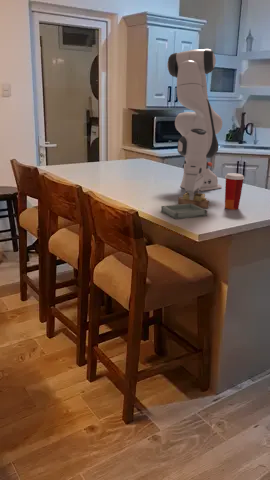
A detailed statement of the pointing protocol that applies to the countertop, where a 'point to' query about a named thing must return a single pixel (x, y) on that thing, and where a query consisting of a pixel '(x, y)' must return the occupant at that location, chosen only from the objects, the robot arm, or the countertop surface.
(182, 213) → the tray
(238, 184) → the coffee cup
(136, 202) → the countertop surface
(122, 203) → the countertop surface
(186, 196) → the ring
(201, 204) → the stake base
